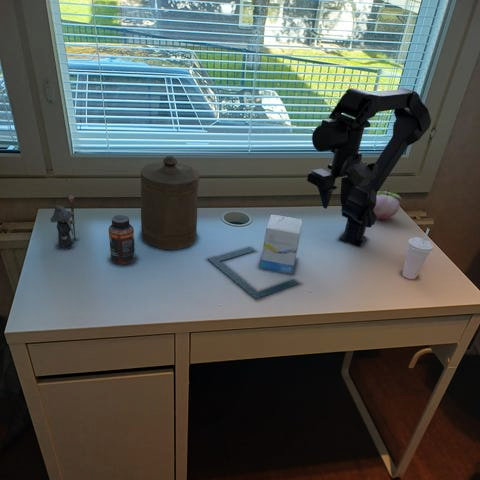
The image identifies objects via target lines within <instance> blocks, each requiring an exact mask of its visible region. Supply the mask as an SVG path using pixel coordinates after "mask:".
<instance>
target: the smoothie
mask: <svg viewBox="0 0 480 480" xmlns="http://www.w3.org/2000/svg"><path fill="white" fill-rule="evenodd" d="M429 232H430V227H429V228H428V227H427V228H426V231H425V233H424V237H423V238H422V237H410V238H409V239H408V241H407V243H406V244H407V248H406V253H405V257H404V258H405V259H404V263H403V268H402V273H401V275H402V276H403V277H404V278H406V279H409V280H415V279H417V277H418V275H419V273H420V271H421V270H422V268H423V266H424V264H425V262H426V260H427V259H428V257H429V255H430V253H432V252H433V250H434V244H433V243H432V242H431V241H430V240H428V239H427V237H428V235H429Z"/></svg>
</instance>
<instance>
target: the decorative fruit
mask: <svg viewBox="0 0 480 480" xmlns="http://www.w3.org/2000/svg"><path fill="white" fill-rule="evenodd" d="M400 201H403V199H402V197H401V196H400V195H399V194H398V193H395V192H390V189H388V190H387V191H385V190H379V191H378V192H377V198H376V206H375V208H374V209H373V211H374V213H375V215H376V216H377V219H378V220H387V219H389V218H392V217H393V216H395V215H396V214H397V213H398V211H399V209H400Z"/></svg>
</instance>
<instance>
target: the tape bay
mask: <svg viewBox="0 0 480 480" xmlns="http://www.w3.org/2000/svg"><path fill="white" fill-rule="evenodd" d="M254 252H255V251H254V250H253V249H252V248H250V247H247V248H243V249H240V250H236V251H232V252H230V253H226V254H222V255H219V256H216V257H212V258H209V259H207V260H208V261H209V262H210V263H211V264H212V265H214V267H216V268H217V269H218V270H219V271H221V272H222V273H223V274H224V275H225V276H227V277H228V278H229V279H231V280H232V281H233V282H234V283H235V284H236V285H238V286H239V287H240V288H241V289H242V290H244V291H245V292H246V293H247V294H248V295H250V296H251V298H253V299H255V300H259V299H261V298H264V297H267V296H271V295H273V294H275V293H278V292H280V291H283V290H286V289H289V288H292V287H294V286H297V285H299V283H298V282H297V281H296V280H295V279H291V280H288V281H286V282H285V281H284V282H282V283H279V284H277V285H274V286H270V287H268V288H265V289H263V290H260V291H257V290H255V289H254V288H253V287H252V286H251V285H249V284H248V283H247V282H245V281H244V280H243V279H242V278H241V277H239V276H238V275H237V274H236V273H235V272H233V271H232V270H231V269H230V268H228V267H227V266H226V265H225V264H223V263H222V262H223V261H226V260H229V259H230V260H231V259H235V258H237V257H240V256H244V255H246V254H250V253H254Z"/></svg>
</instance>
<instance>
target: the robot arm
mask: <svg viewBox="0 0 480 480" xmlns="http://www.w3.org/2000/svg"><path fill="white" fill-rule="evenodd" d="M387 111H393V114H394V117H395V121H394V122H393V124H392V135H391V138H390V139H389V141H388V143H386V145H385V146H384V148H383V150H382V152H381V153H380V155H379V156H378V157H377V159H376V161H375V162H374V161H373V162H369V163H367V162H363V161H362V158H363V153H362V152H361V151H360V147H361V143H362V139H363V135H364V131H365V129H366V128H370V127H371V125H372V124H371V122H370V121H369V119H373V118H374V117H375V116H376V114H377V113H381V112H387ZM328 118H329V119H327V118H326V119H322V120H321V124H320V125H317V126H316V127H315V129H314V130H313V132H312V135H311V142H312V145H313V148H314V149H315V150H316V151H318V152H320V153H323V152H327V151H330V153H332V154H333V156H332V157H333V158H332V161H331V163H328V164H327V169H328V170H330V171H327V170H326V169H323V168H315V169H312V170H310V171H308V173H307V177H306V182H308V183H310V184H311V185H314V186H315V187H317V190H318V194H319V196H320V200H321V205H322V207H323V208H324V209H326V210H327V209H328V207H329V204H330V200H331V197H332V194H333V192H334V191H335V190H336V189H338V186H336V185H335V184H336V180H339V179H341V180H340V196H339V197H340V204H341V217H344V218H346V219H347V220H346V224H345V228H344V232H343V233H342V234H341V235H340V237H339V238H338V239H339V241H341V242H344V243H347V244H351V245H354V246H357V247H361V246H363V245H362V244H364V242H365V241H366V239H367V236H366V235H365V233H366V229H367V228H372V226H374V225H375V224H376V222H377V219H378V218H377V216H376V215H375V213H374V211H373V209H374V208H375V206H376V198H377V192H378V191H380V189H381V188H382V186H383V184H384V183H385V181H386V180H387V179H388V177H389V176H390V174H391V173H392V171H393V170H394V168H395V167H396V165H397V164H398V162H399V160H400V159H401V158H402V156H403V155H404V153H405V151H406V150H407V148H409V146H411V145H413V144H414V143H416V142H418V141H419V140H420V139H422V137H423V136H424V134H425V133H426V132H427V131H429V128H430V127H431V124H432V118H431V115H430V111H429V109H428V107H427V106H426V105H425V104H424V103H423V101H422V100H421V96H420V94H419V93H418V92H417V91H415V90H411V89H409V88H404V87H402V88H399V89H392V90H381V91H368V90H363V89H359V88H354V87H350V88H348V89H346V90H345V92H344V93H343V94H342V95H341V98H340V99H339V100H338V102H337V104H335V106H334V108H333V109H332V110H331V113H330V114H329V116H328Z"/></svg>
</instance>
